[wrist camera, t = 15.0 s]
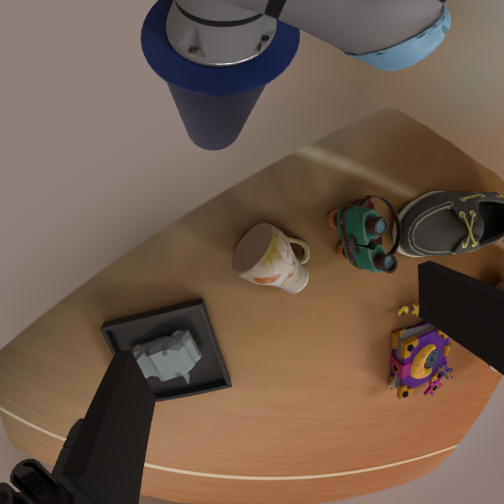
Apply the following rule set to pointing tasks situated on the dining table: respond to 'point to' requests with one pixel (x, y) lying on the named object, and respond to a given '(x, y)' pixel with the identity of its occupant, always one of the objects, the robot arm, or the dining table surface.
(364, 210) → the binoculars
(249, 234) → the mug
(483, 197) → the boat shoe
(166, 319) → the tray
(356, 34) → the robot arm
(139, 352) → the toy car
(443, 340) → the purple toy
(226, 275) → the dining table surface
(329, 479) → the dining table surface
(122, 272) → the dining table surface
